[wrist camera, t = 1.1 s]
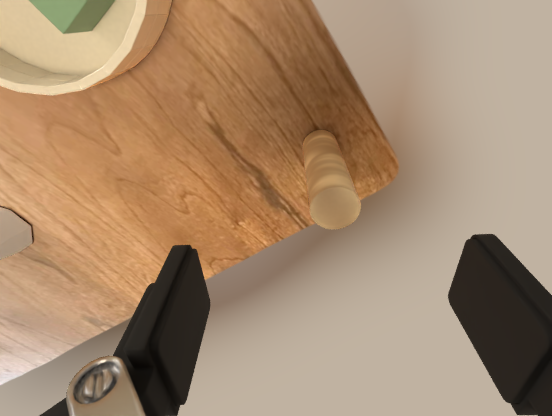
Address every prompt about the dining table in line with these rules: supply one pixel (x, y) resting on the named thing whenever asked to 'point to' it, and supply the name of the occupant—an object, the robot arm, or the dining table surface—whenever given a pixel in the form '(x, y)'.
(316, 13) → the dining table surface
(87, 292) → the dining table surface
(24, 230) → the flask
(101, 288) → the dining table surface
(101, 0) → the sage block
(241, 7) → the dining table surface
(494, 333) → the robot arm
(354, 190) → the beige marbled cylinder
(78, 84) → the bowl
